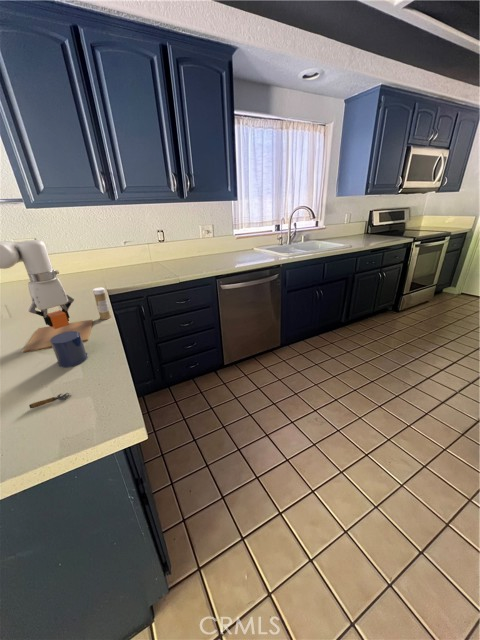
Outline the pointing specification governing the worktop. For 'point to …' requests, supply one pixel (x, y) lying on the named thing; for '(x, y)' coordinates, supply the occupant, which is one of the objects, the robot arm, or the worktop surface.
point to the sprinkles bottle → (101, 303)
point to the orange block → (58, 319)
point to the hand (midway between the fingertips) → (58, 322)
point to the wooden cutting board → (46, 333)
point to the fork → (49, 400)
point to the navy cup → (69, 349)
